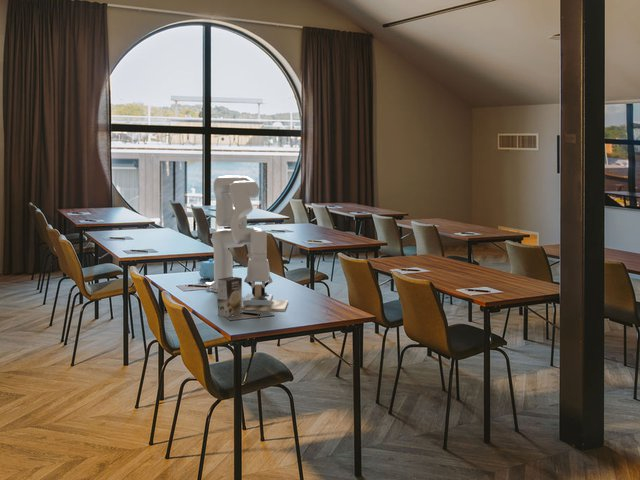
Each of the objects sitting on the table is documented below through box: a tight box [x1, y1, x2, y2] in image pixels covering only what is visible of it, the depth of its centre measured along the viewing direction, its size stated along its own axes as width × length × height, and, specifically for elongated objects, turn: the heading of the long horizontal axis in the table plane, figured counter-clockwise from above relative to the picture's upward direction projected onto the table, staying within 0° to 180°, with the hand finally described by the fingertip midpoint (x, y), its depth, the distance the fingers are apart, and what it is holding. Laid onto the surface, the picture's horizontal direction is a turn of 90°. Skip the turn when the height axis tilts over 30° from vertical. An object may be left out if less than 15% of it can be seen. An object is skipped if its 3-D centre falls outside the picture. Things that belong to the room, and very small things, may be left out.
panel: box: [242, 283, 274, 305], centre depth 325 cm, size 12×16×8 cm
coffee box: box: [217, 276, 243, 318], centre depth 308 cm, size 9×6×16 cm
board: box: [242, 291, 289, 312], centre depth 325 cm, size 22×18×6 cm
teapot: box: [198, 258, 214, 281], centre depth 394 cm, size 15×14×11 cm
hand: (258, 295), depth 325 cm, fingers closed on panel, 3 cm apart
